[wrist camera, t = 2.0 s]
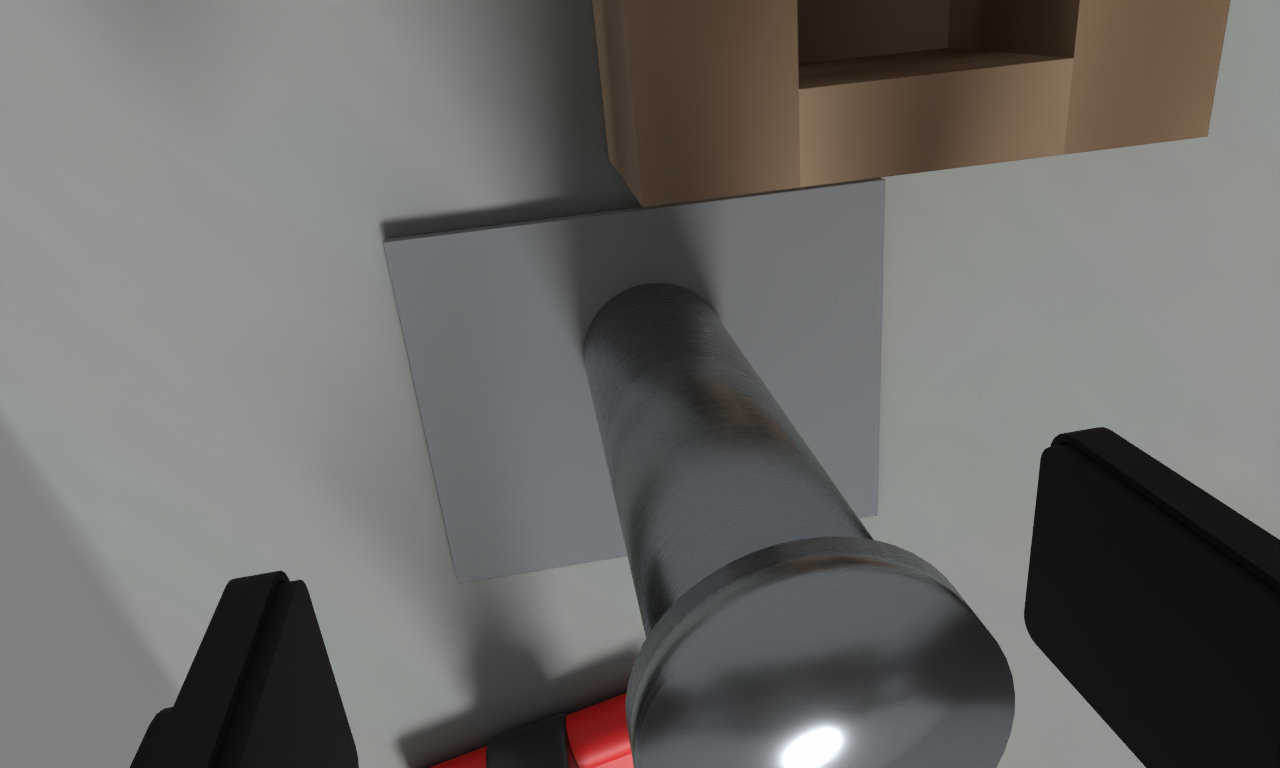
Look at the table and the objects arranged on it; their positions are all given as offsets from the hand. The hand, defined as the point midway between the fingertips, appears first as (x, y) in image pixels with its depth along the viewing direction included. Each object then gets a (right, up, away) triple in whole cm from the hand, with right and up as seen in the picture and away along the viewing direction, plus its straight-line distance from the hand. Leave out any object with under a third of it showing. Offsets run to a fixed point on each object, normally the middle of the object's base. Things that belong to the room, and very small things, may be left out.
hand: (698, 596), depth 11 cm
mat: (0, +3, +8) cm, 9 cm away
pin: (0, +3, +7) cm, 8 cm away
